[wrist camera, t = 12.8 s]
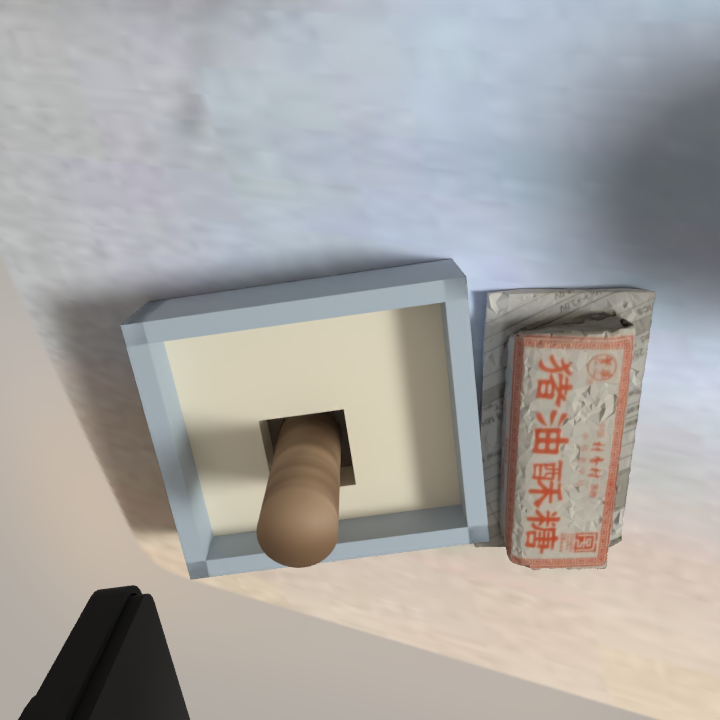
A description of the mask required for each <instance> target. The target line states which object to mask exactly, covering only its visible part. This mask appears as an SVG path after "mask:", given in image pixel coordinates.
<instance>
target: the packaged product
mask: <svg viewBox="0 0 720 720" xmlns="http://www.w3.org/2000/svg"><path fill="white" fill-rule="evenodd" d="M654 300H655V292H654V291H648V290H641V289H630V288H614V289H589V290H586V289H513V290H504V291H495V292H487V301H486V313H485V325H484V340H483V383H482V401H481V422H480V440H481V452H482V463H483V475H484V486H485V498H486V509H487V520H488V532H489V541H488V542H480V543H475V544H474V545H475V546H476V547H506V550H507V555H508V557H509V559H510V561H512V562H513V563H515V564H518V565H522V566H526V567H529V568H531V569H533V570H539V569H541V568H550V569H553V568H567V569H579V570H580V569H585V568H597V569H605V568H606V566H607V552H608V548H609V547H611V546H613V545H615V544H617V543H618V542H620V541H622V526H623V516H624V511H625V504H626V496H627V489H628V482H629V474H630V466H631V460H632V451H633V448H634V443H635V429H636V425H637V420H638V411H639V403H640V397H641V389H642V379H643V375H644V370H645V363H646V356H647V348H648V342H649V334H650V327H651V317H652V311H653V304H654Z"/></svg>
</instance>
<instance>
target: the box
mask: <svg viewBox="0 0 720 720" xmlns="http://www.w3.org/2000/svg"><path fill="white" fill-rule="evenodd" d="M120 326H121V330H122V333H123V337H124V340H125V344H126V348H127V351H128V355H129V358H130V362H131V366H132V369H133V373H134V377H135V380H136V384H137V387H138V391H139V395H140V398H141V402H142V405H143V409H144V413H145V416H146V420H147V424H148V427H149V431H150V434H151V438H152V442H153V445H154V449H155V452H156V456H157V460H158V463H159V467H160V471H161V474H162V478H163V481H164V485H165V489H166V492H167V496H168V499H169V503H170V507H171V510H172V514H173V518H174V521H175V525H176V528H177V532H178V536H179V539H180V543H181V546H182V550H183V554H184V557H185V561H186V565H187V568H188V572H189V575H190V579H198V578H206V577H214V576H222V575H229V574H237V573H245V572H253V571H261V570H269V569H276V568H284V567H288V566H284V565H281V564H279V563H277V562H275V561H273V560H272V559H270V558H269V557H268V556H267V555H266V554H265V553H264V552H263V550H262V549H261V547H260V545H259V543H258V540H257V534H256V529H257V524H258V520H259V515H260V511H261V507H262V503H263V499H264V495H265V491H266V486H267V482H268V478H269V474H270V470H271V466H272V461H273V457H274V452H273V447H272V442H271V437H270V433H269V428H268V423H267V420H268V419H276V418H283V417H291V416H298V415H305V414H313V413H320V412H327V411H335V410H342V409H344V414H345V420H346V426H347V432H348V438H349V444H350V450H351V457H352V463H353V466H346V467H340V492H339V522H338V539H337V543H336V546H335V548H334V550H333V551H332V552H331V554H330V555H329V556H328V557H327V558H325V559H324V560H323V561H321V562H319V563H323V562H331V561H339V560H347V559H355V558H362V557H370V556H378V555H386V554H394V553H402V552H409V551H417V550H425V549H433V548H441V547H449V546H456V545H464V544H472V543H480V542H488V541H489V532H488V520H487V509H486V498H485V486H484V475H483V463H482V452H481V440H480V429H479V417H478V406H477V394H476V383H475V371H474V360H473V349H472V337H471V326H470V314H469V303H468V291H467V280H466V276H465V274H464V273H463V272H462V271H461V269H460V268H459V267H458V266H457V264H456V263H455V262H454V261H453V260H452V259H447V260H440V261H433V262H426V263H419V264H412V265H405V266H398V267H391V268H384V269H377V270H370V271H363V272H356V273H349V274H342V275H335V276H328V277H321V278H314V279H307V280H300V281H293V282H286V283H279V284H272V285H264V286H257V287H250V288H243V289H236V290H229V291H222V292H215V293H208V294H201V295H194V296H187V297H180V298H173V299H166V300H159V301H152V302H148V303H147V304H145V305H144V306H143V307H142V308H141V309H139V310H138V311H137V312H136V313H135V314H133V315H132V316H131V317H130V318H129V319H127V320H126V321H125V322H124V323H123V324H122V325H120Z"/></svg>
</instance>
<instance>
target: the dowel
mask: <svg viewBox="0 0 720 720" xmlns="http://www.w3.org/2000/svg"><path fill="white" fill-rule="evenodd" d="M340 462H341V428H340V425H339V423H338V421H337V420H336V418H335V417H334V416H333V415H332V414H331V413H329V412H328V411H327V412H320V413H313V414H305V415H298V416H291V417H286V418H285V419H284V421H283V423H282V425H281V428H280V432H279V437H278V441H277V445H276V449H275V453H274V457H273V461H272V466H271V470H270V474H269V478H268V482H267V486H266V491H265V495H264V499H263V503H262V507H261V511H260V515H259V520H258V524H257V529H256V534H257V540H258V543H259V545H260V547H261V549H262V550H263V552H264V553H265V554H266V555H267V556H268V557H269V558H270V559H272V560H273V561H275V562H277V563H279V564H281V565H284V566H288V567H296V568H301V567H308V566H312V565H315V564H317V563H319V562H321V561H323V560H324V559H325V558H327V557H328V556H329V555H330V554H331V552H332V551H333V550H334V548H335V546H336V543H337V539H338V522H339V492H340Z"/></svg>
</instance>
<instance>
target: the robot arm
mask: <svg viewBox="0 0 720 720" xmlns="http://www.w3.org/2000/svg"><path fill="white" fill-rule="evenodd" d="M18 720H190V718H189V714H188V711H187V708H186V705H185V701H184V698H183V695H182V691H181V688H180V685H179V681H178V678H177V675H176V672H175V668H174V665H173V662H172V659H171V655H170V652H169V649H168V645H167V643H166V639H165V635H164V632H163V629H162V625H161V623H160V619H159V616H158V612H157V609H156V606H155V602H154V600H153V597H152V596H151V595H150V594H142V593H141V591H140V589H139V588H138V587H137V586H134V585H132V586H124V587H116V588H109V589H101V590H97V591H95V592H94V594H93V595H92V596H91V597H90V599H89V601H88V603H87V604H86V606H85V608H84V610H83V612H82V613H81V615H80V617H79V619H78V621H77V623H76V624H75V626H74V628H73V630H72V631H71V633H70V635H69V637H68V639H67V640H66V642H65V644H64V646H63V647H62V650H61V651H60V653H59V655H58V656H57V658H56V660H55V662H54V664H53V665H52V667H51V669H50V671H49V673H48V674H47V676H46V678H45V680H44V682H43V683H42V685H41V687H40V689H39V691H38V692H37V694H36V696H34V697H33V698H32V699H31V700H30V702H29V703H28V704H27V706H26V707H25V708H24V710H23V712H22V714H21V716H20V717H19V719H18Z"/></svg>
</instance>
